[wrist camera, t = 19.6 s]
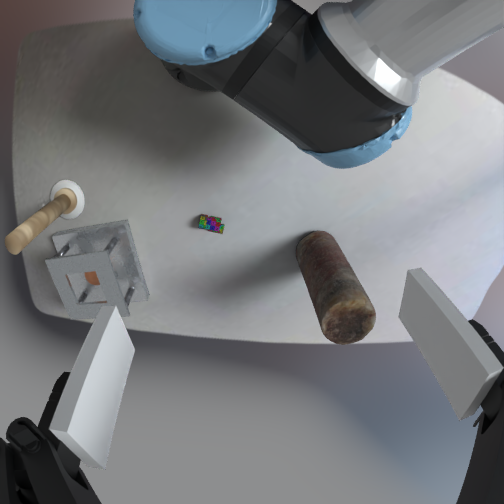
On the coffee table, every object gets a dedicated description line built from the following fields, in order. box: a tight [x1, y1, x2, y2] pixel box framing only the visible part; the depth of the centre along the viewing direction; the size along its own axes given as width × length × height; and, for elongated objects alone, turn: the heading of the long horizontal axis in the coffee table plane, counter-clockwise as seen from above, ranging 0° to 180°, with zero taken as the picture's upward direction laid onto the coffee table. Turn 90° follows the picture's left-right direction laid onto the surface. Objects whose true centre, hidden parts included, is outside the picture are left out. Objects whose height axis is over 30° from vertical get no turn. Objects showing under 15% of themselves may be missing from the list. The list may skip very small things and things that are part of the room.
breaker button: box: [85, 271, 100, 285], centre depth 50 cm, size 4×4×4 cm
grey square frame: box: [45, 220, 150, 319], centre depth 49 cm, size 15×15×8 cm
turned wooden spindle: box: [5, 188, 77, 255], centre depth 39 cm, size 4×4×17 cm
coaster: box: [50, 180, 85, 219], centre depth 46 cm, size 7×7×1 cm
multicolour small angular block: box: [199, 214, 224, 234], centre depth 50 cm, size 4×3×2 cm, turn 75°
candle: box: [296, 231, 376, 345], centre depth 45 cm, size 8×7×20 cm
